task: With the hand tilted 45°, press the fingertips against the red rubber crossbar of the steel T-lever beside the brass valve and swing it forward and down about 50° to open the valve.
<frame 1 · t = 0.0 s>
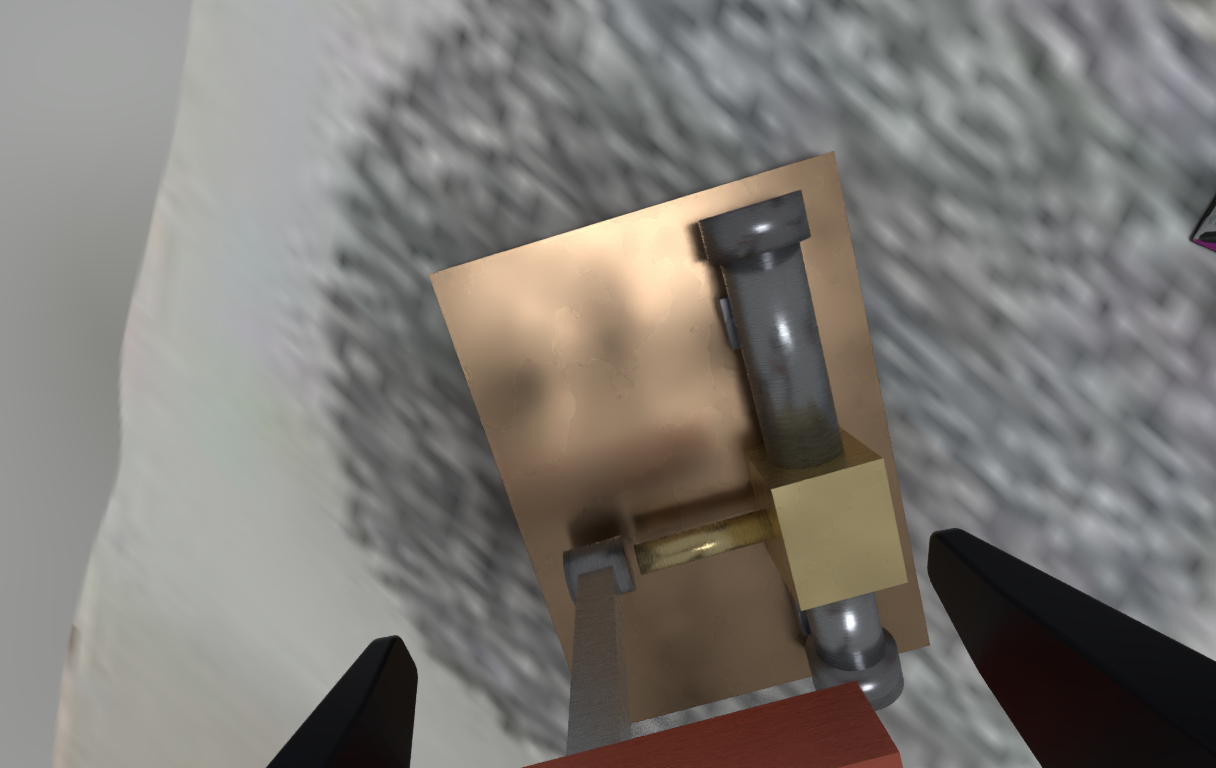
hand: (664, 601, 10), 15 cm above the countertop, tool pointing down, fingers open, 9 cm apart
valve lever: (600, 658, 18), point 8 cm above the countertop, hinge at 0.0°
valve on board: (793, 481, 26), on the countertop
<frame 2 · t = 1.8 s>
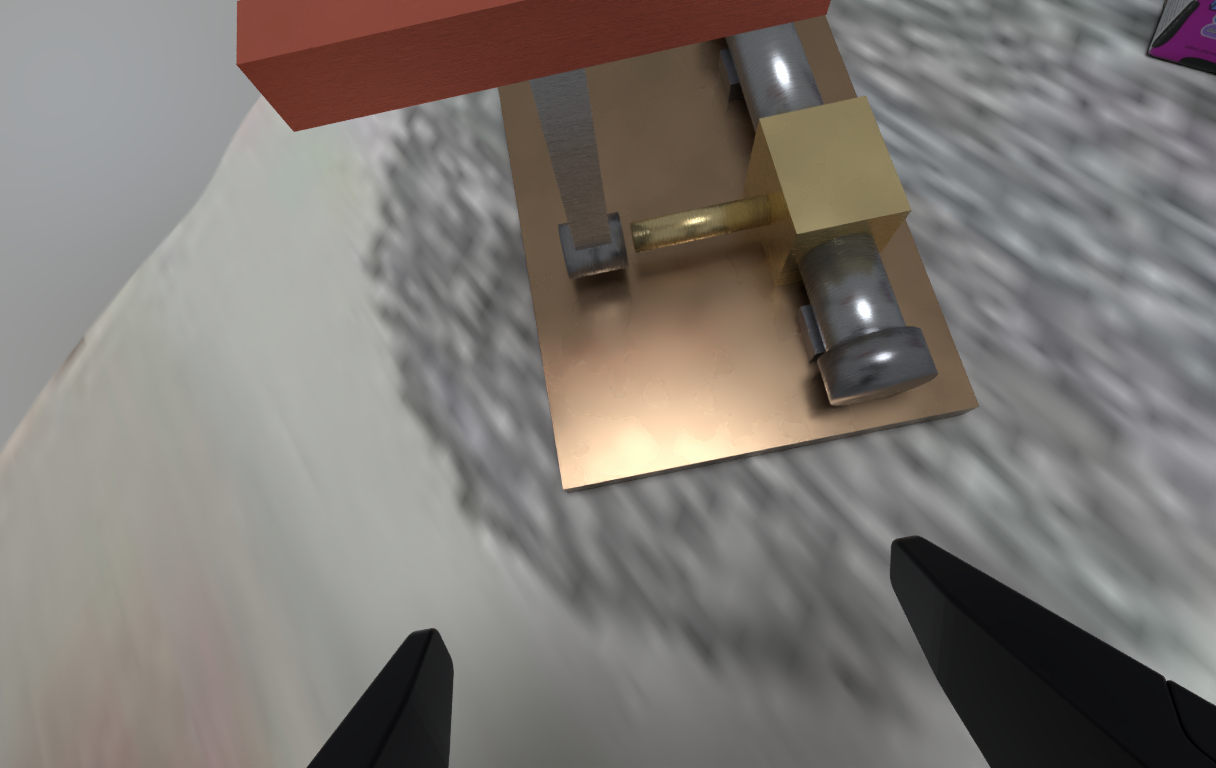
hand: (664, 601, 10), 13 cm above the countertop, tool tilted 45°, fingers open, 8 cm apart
valve lever: (575, 160, 18), point 8 cm above the countertop, hinge at 0.0°
valve on board: (799, 238, 26), on the countertop
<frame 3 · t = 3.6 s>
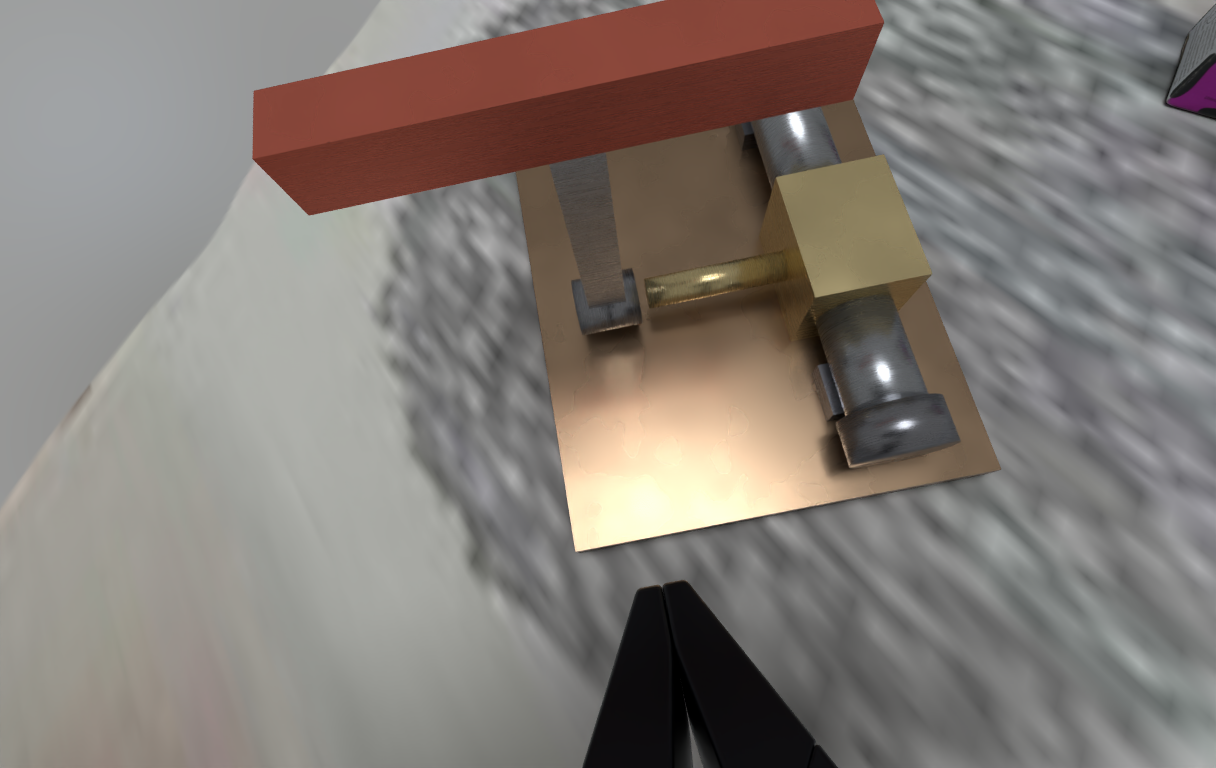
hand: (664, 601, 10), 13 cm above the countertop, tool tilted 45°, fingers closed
valve lever: (591, 228, 18), point 8 cm above the countertop, hinge at 0.0°
valve on board: (814, 290, 26), on the countertop
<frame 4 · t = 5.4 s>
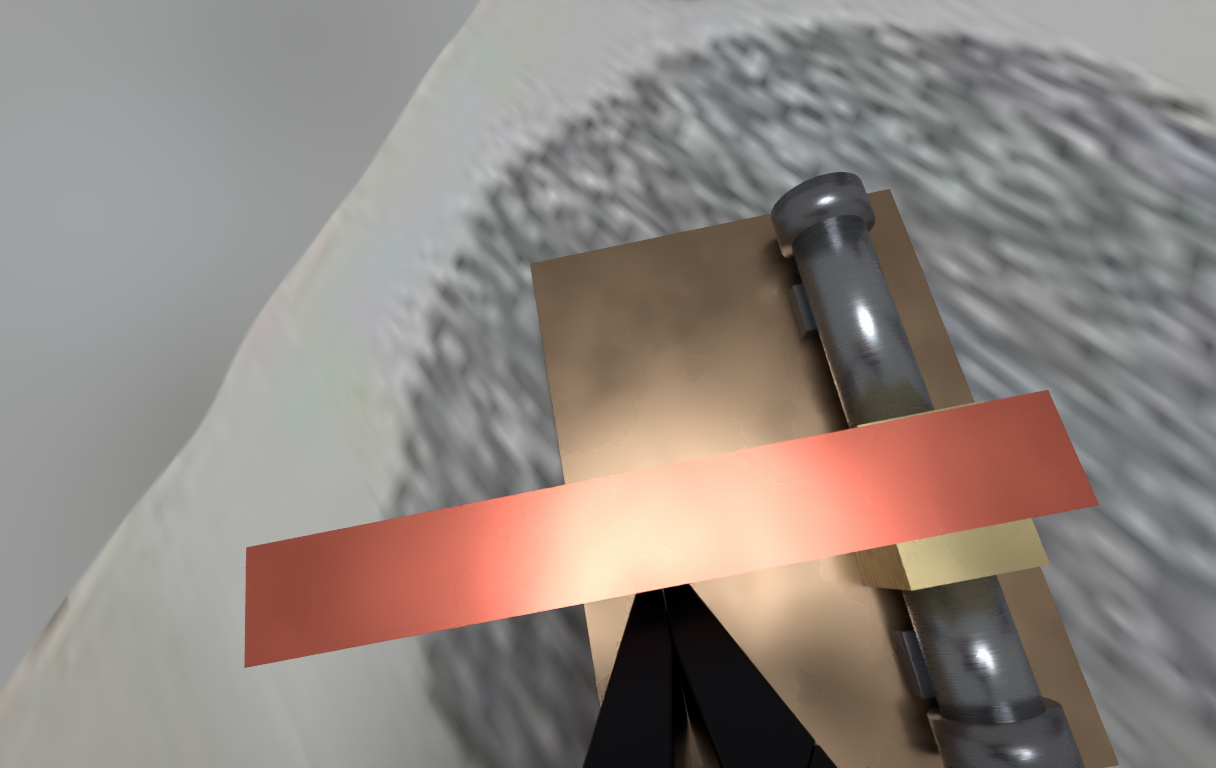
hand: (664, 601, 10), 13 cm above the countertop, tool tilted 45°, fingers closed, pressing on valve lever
valve lever: (655, 544, 15), point 8 cm above the countertop, hinge at 0.1°, touching gripper
valve on board: (886, 508, 23), on the countertop
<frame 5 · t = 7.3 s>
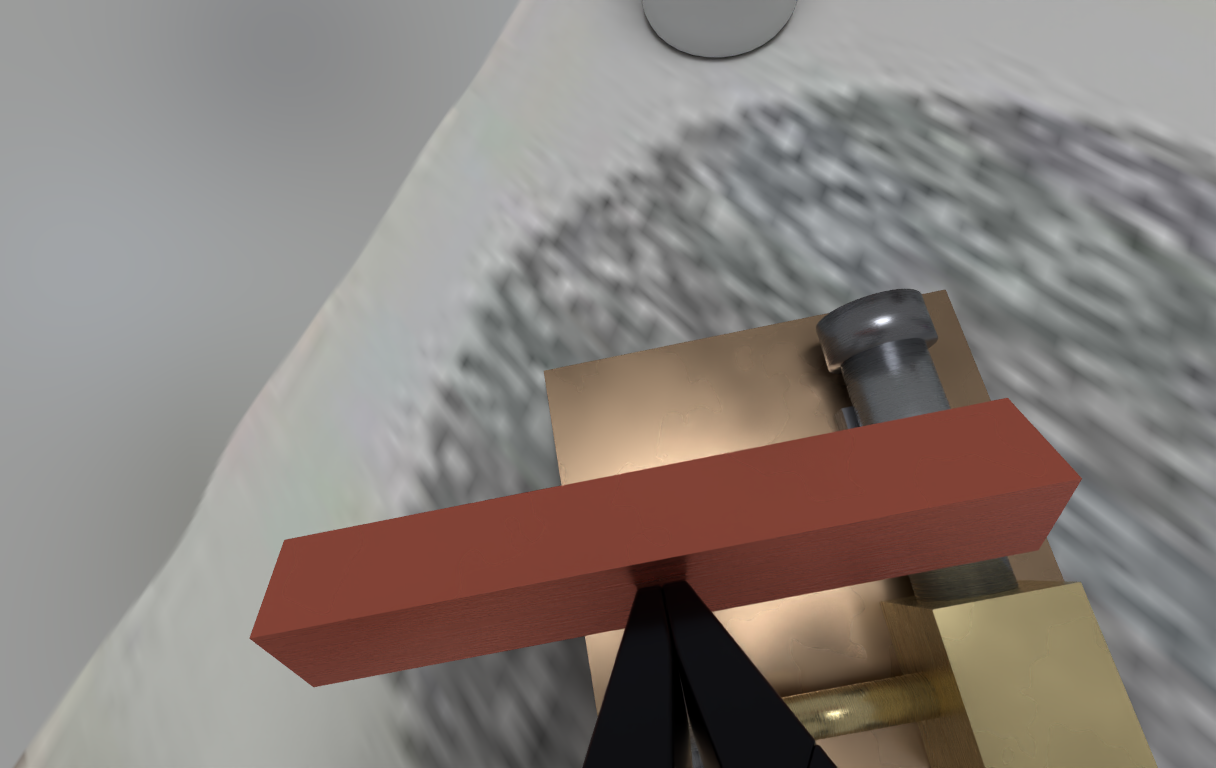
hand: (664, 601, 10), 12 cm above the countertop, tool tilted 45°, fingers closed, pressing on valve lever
valve lever: (679, 666, 14), point 8 cm above the countertop, hinge at 30.1°, touching gripper
milk bottle: (717, 7, 30), on the countertop
valve on board: (949, 665, 20), on the countertop
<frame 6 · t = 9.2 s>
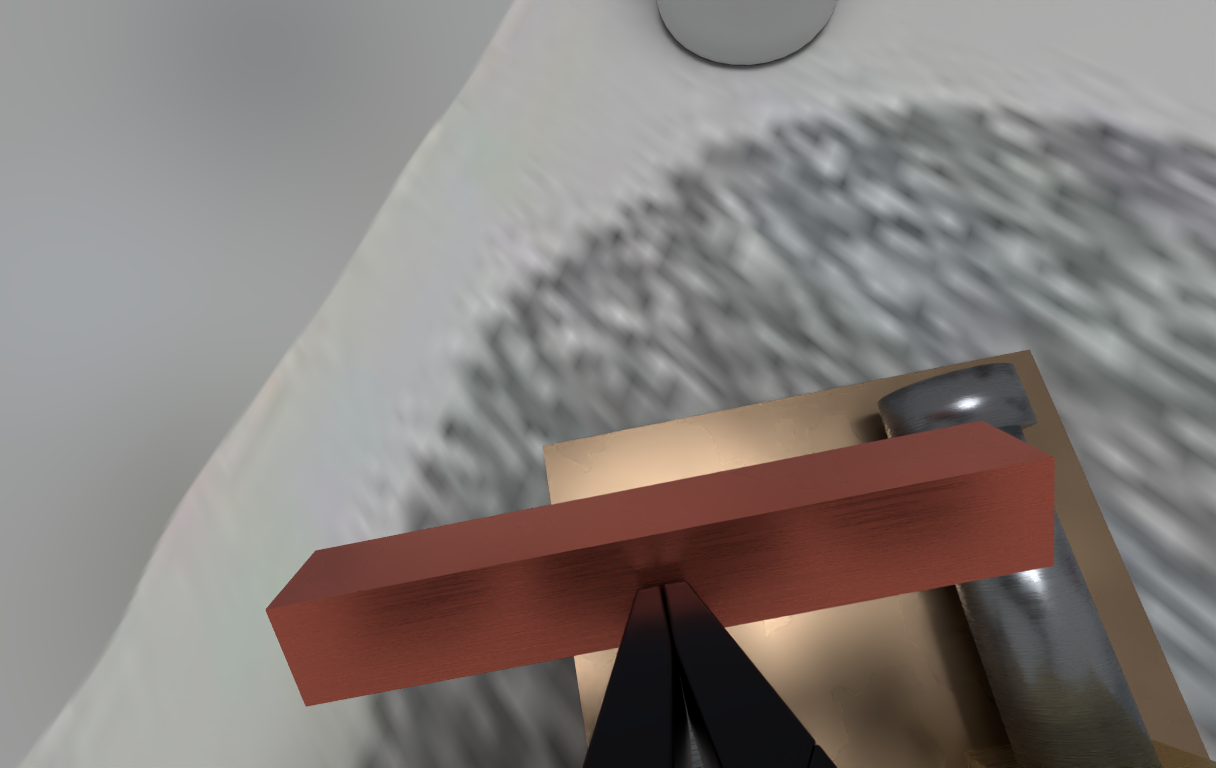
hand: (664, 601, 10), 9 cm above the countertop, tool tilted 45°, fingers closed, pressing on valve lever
milk bottle: (743, 6, 26), on the countertop
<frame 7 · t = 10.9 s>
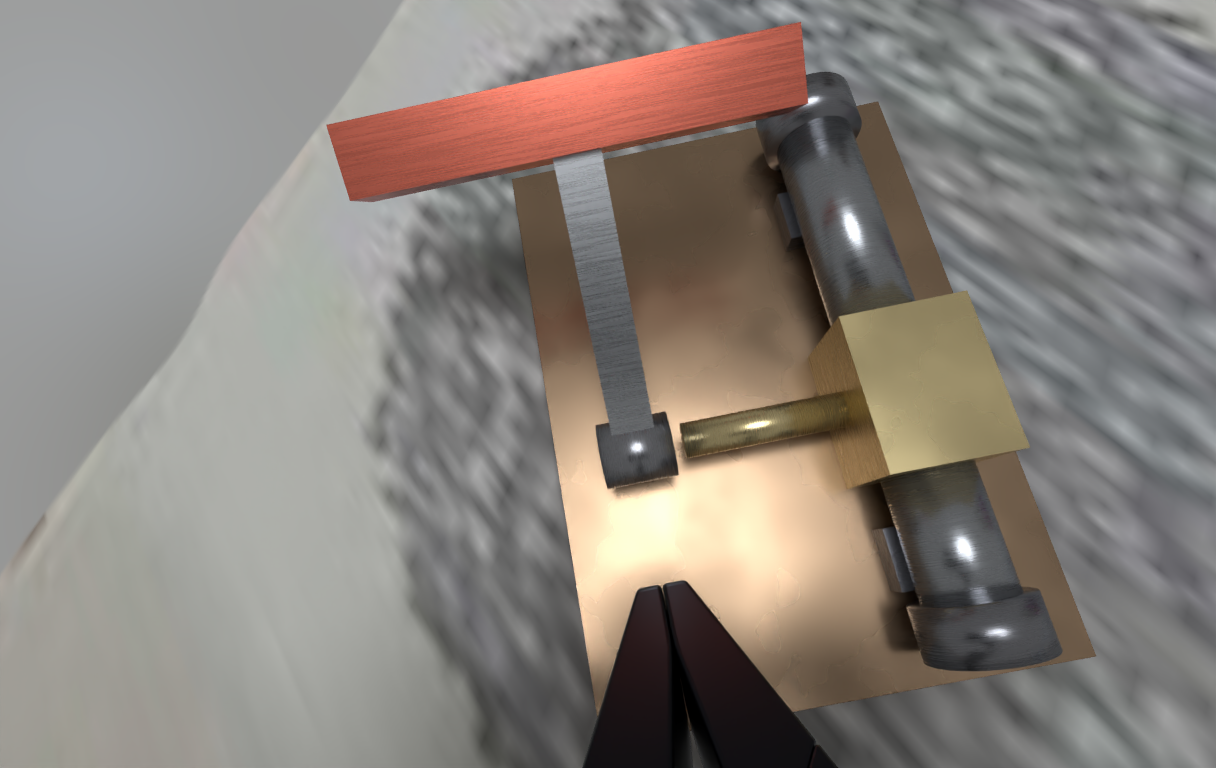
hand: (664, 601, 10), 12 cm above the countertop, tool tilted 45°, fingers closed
valve lever: (606, 299, 18), point 6 cm above the countertop, hinge at 56.7°
valve on board: (869, 417, 22), on the countertop
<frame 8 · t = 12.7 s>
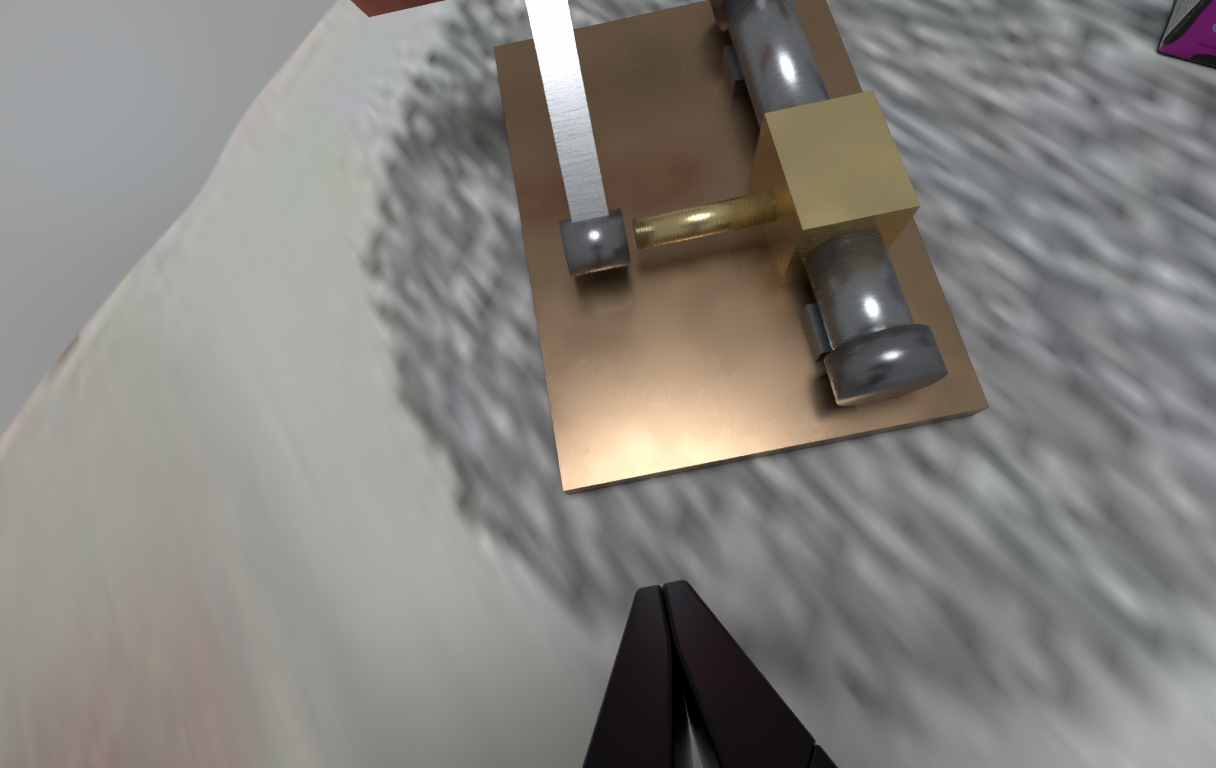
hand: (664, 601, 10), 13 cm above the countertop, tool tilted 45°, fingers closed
valve lever: (566, 100, 21), point 6 cm above the countertop, hinge at 56.7°
valve on board: (804, 237, 25), on the countertop
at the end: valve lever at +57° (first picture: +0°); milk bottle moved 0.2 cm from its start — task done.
